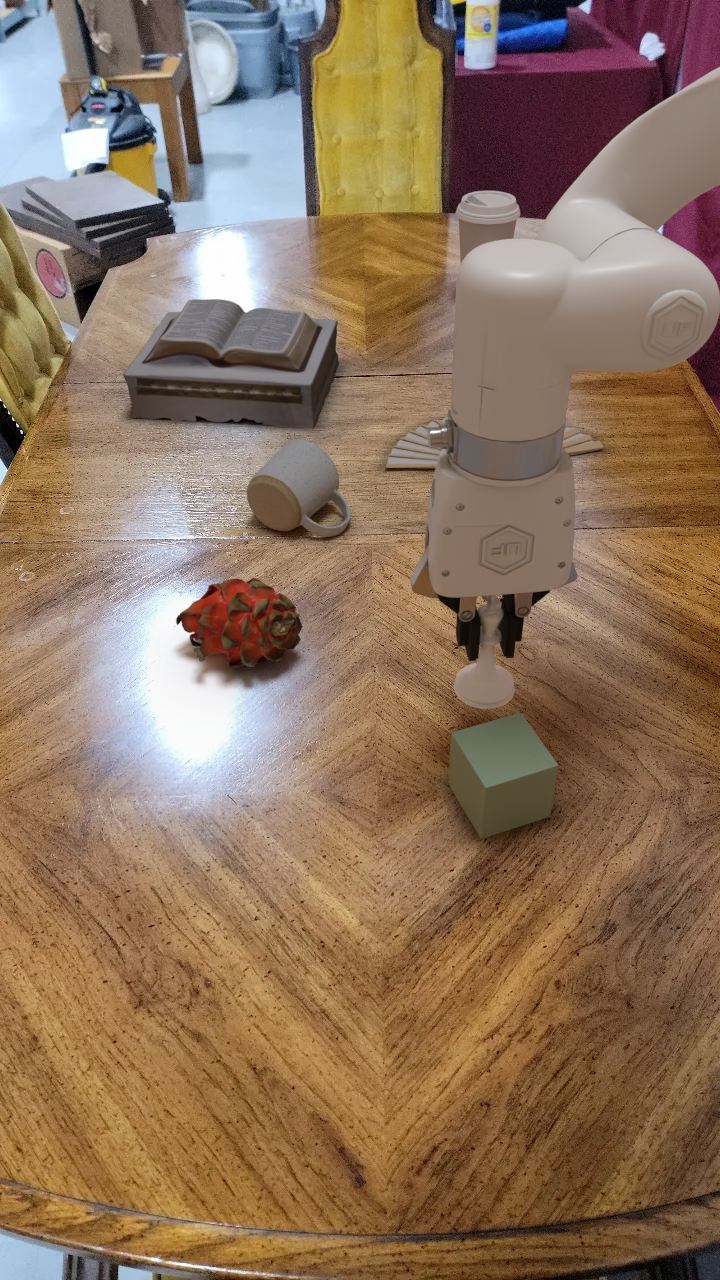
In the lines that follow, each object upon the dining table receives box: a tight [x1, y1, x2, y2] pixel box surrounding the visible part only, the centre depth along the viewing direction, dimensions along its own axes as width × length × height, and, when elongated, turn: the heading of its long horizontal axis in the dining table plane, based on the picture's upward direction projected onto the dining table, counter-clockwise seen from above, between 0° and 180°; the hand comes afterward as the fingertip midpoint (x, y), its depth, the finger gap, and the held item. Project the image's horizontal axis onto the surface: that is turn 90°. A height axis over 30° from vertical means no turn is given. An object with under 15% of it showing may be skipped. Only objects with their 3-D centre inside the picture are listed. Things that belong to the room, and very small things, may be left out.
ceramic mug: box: [246, 438, 352, 538], centre depth 107 cm, size 11×8×8 cm
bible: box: [123, 298, 340, 430], centre depth 130 cm, size 23×27×10 cm
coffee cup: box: [455, 190, 521, 264], centre depth 150 cm, size 10×10×15 cm
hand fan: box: [385, 414, 605, 469], centre depth 120 cm, size 26×1×15 cm
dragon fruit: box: [173, 577, 304, 670], centre depth 90 cm, size 8×8×12 cm
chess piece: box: [453, 595, 516, 710], centre depth 77 cm, size 5×5×10 cm
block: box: [448, 712, 559, 840], centre depth 76 cm, size 6×6×6 cm
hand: (487, 646), depth 78 cm, fingers closed on chess piece
